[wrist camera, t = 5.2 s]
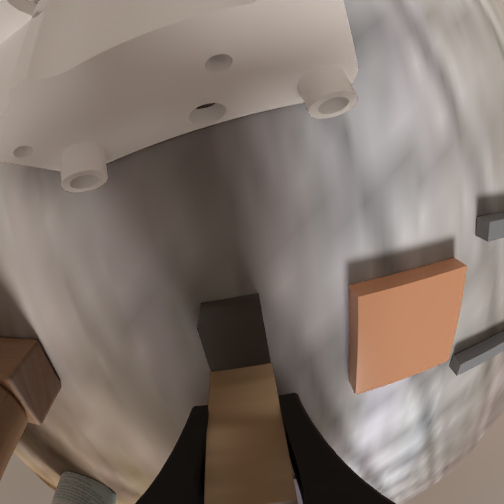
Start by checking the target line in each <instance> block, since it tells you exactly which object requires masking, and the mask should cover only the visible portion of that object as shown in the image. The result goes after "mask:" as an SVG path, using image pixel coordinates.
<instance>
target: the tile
mask: <svg viewBox="0 0 504 504" xmlns="http://www.w3.org/2000/svg"><path fill="white" fill-rule="evenodd" d="M466 269H467V266H466V265H465V264H463V263H462V262H460V261H458V260H457V259H455V258H450V259H447V260H443V261H440V262H436V263H433V264H429V265H425V266H422V267H418V268H414V269H411V270H407V271H403V272H399V273H395V274H392V275H388V276H384V277H380V278H376V279H372V280H368V281H363V282H359V283H355V284H351V285H349V304H350V366H349V382H350V384H351V386H352V388H353V390H354V393H355V395H356V394H359V393H363V392H366V391H369V390H372V389H375V388H378V387H381V386H384V385H387V384H390V383H393V382H396V381H399V380H401V379H404V378H407V377H409V376H412V375H415V374H417V373H420V372H422V371H425V370H427V369H430V368H432V367H434V366H437V365H439V364H441V363H444V362H446V361H448V360H449V356H450V352H451V348H452V345H453V341H454V336H455V332H456V328H457V323H458V318H459V313H460V308H461V302H462V297H463V290H464V284H465V277H466Z"/></svg>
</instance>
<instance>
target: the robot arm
mask: <svg viewBox="0 0 504 504" xmlns="http://www.w3.org/2000/svg"><path fill="white" fill-rule="evenodd" d="M278 398H279V404H280V409H281V415H282V419H283V425H284V430H285V435H286V441H287V446H288V451H289V457H290V460H291V463H292V467H293V470H294V474H295V477H296V479H294V483H295V489H296V494H297V500H298V504H395V503H394V502H392V501H391V500H389V499H388V498H386V497H385V496H383V495H382V494H381V493H379V492H378V491H377V490H375V489H374V488H373V487H371V486H370V485H369V484H368V483H366V482H365V481H364V480H363V479H361V478H360V477H359V476H358V475H357V474H356V473H355V472H354V471H353V470H352V469H351V468H350V467H349V466H348V465H347V464H346V463H345V462H344V461H343V460H342V459H341V458H340V457H339V456H338V455H337V454H336V453H335V451H334V450H333V449H332V448H331V447H330V446H329V444H328V443H327V442H326V441H325V439H324V438H323V437H322V435H321V434H320V432H319V431H318V430H317V428H316V427H315V425H314V424H313V422H312V421H311V419H310V418H309V416H308V414H307V413H306V411H305V409H304V407H303V405H302V403H301V401H300V399H299V396H298V394H296V393H291V394H285V395H280V396H278ZM208 415H209V410H208V405H205V406H194V407H193V408H192V410H191V413H190V415H189V418H188V420H187V422H186V425H185V427H184V429H183V431H182V433H181V435H180V437H179V439H178V441H177V443H176V445H175V447H174V449H173V451H172V453H171V455H170V456H169V458H168V460H167V461H166V463H165V465H164V466H163V468H162V469H161V471H160V473H159V474H158V476H157V477H156V478H155V480H154V481H153V483H152V484H151V485H150V487H149V488H148V489H147V490H146V492H145V493H144V494H143V495H142V496H141V498H140V499H139V500H138V501H137V502H136V503H135V504H204V491H205V460H206V437H207V427H208Z"/></svg>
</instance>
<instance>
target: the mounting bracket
mask: <svg viewBox="0 0 504 504" xmlns="http://www.w3.org/2000/svg"><path fill="white" fill-rule="evenodd" d="M357 74H358V64H357V59H356V53H355V48H354V43H353V39H352V34H351V29H350V25H349V21H348V17H347V13H346V9H345V5H344V1H343V0H39V1H38V3H37V4H35V3H32V2H30V1H27V0H0V162H4V163H11V164H18V165H24V166H31V167H37V168H43V169H49V170H55V171H61V187H62V189H64V190H65V191H68V192H86V191H90V190H93V189H96V188H98V187H100V186H102V185H103V184H105V182H106V181H107V179H108V175H107V166H106V164H107V163H109V162H112V161H114V160H116V159H119V158H121V157H123V156H126V155H128V154H131V153H133V152H136V151H138V150H141V149H143V148H146V147H149V146H151V145H154V144H157V143H159V142H162V141H165V140H168V139H170V138H173V137H176V136H179V135H182V134H185V133H188V132H191V131H194V130H197V129H201V128H204V127H207V126H210V125H214V124H217V123H221V122H224V121H228V120H231V119H235V118H239V117H242V116H246V115H250V114H254V113H258V112H262V111H267V110H271V109H276V108H280V107H285V106H290V105H295V104H300V103H305V105H306V108H307V110H308V112H309V114H310V116H312V117H314V118H319V119H324V118H331V117H335V116H338V115H341V114H343V113H345V112H347V111H348V110H350V109H351V108H353V107H354V106H355V104H356V103H357V101H358V97H357V95H356V93H355V91H354V89H353V87H352V85H351V84H352V83H353V81H354V80H355V79H356V77H357ZM209 103H215V104H214V105H212V106H210V107H207V108H202V109H196V108H197V107H199V106H201V105H204V104H209Z"/></svg>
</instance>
